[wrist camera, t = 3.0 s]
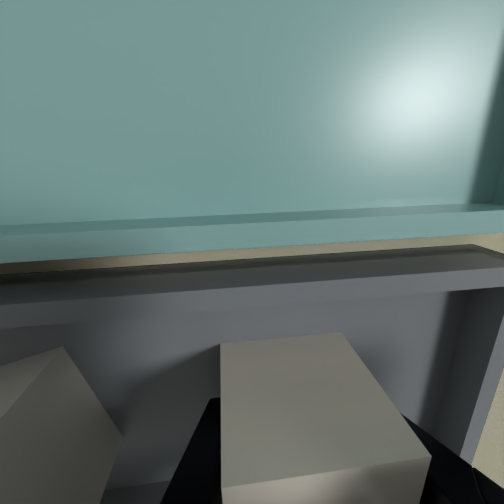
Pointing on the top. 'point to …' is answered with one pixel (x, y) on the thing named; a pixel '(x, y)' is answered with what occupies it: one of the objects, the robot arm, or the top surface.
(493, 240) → the top surface
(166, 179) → the tray
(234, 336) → the tray
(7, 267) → the top surface
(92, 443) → the cube
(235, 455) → the cube block
